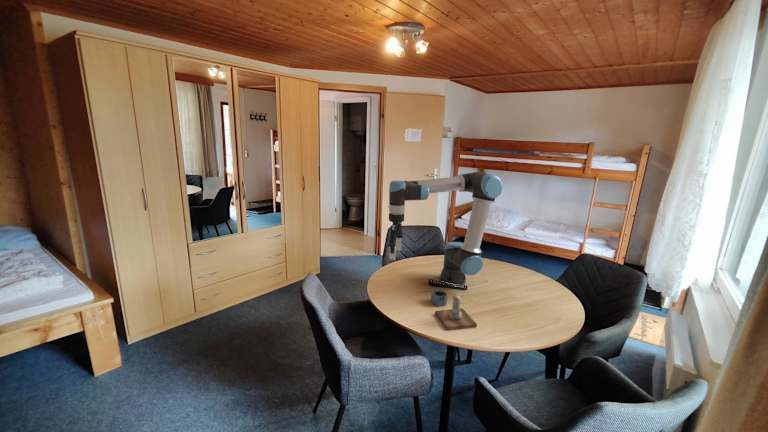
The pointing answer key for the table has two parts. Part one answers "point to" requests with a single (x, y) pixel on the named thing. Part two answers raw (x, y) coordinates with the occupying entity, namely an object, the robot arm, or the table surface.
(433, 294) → the collar
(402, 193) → the robot arm
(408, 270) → the table surface
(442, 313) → the shaft block
